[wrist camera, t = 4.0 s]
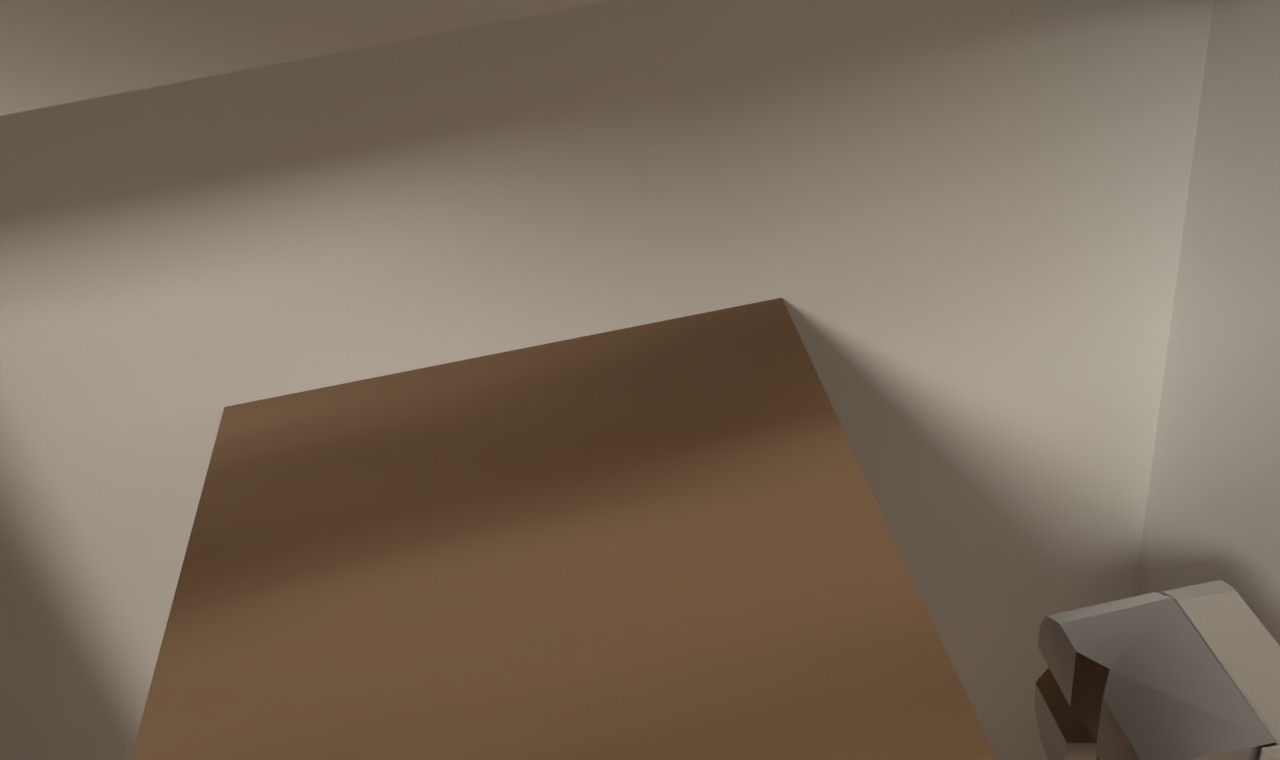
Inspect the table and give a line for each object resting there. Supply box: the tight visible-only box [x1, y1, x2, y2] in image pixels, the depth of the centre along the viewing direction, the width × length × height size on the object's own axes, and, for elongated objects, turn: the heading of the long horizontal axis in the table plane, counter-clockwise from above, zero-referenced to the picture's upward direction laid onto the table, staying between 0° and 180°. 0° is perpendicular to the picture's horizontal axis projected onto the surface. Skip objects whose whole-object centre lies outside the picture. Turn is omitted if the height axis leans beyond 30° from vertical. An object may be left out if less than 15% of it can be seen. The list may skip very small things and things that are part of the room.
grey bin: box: [0, 0, 1280, 760], centre depth 11 cm, size 14×14×4 cm
